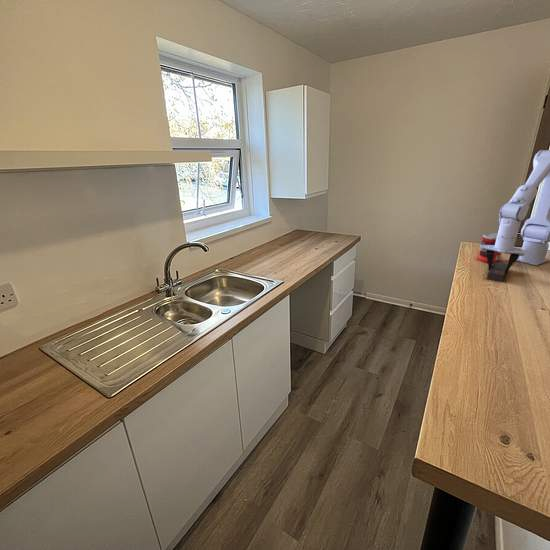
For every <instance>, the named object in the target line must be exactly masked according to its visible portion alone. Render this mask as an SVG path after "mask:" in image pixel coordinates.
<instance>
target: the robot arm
mask: <svg viewBox="0 0 550 550" xmlns="http://www.w3.org/2000/svg"><path fill="white" fill-rule="evenodd" d="M532 168H533V169H532V171H531V173H530V175H529V177H528V178H527V180H526V181H525V184H522V185H520V186H519V187H518V188H517V189H516V190H515V193H514V194H513V195H512V197H511V198H510V199H509V201H508V202H507V203H504V204H503V205H502V206H501V207H500V209H499V212H498V218H499V219H498V223H499V227H498V231H497V233H496V234H497V238H496V243H495V245H482V244H481V243H480V245H479V249H478V251H480V250H481V251H483V250H484V251H486V257H487V260H488V263H487V265H488V269H487V270H488V271H489V270H490V269H491V267H492V265H493V263H492V262H493V258H494V254H495V252H498V253H501V254H507V255H509V258H508V262H507V264H508V265H507V268H506V270H505V274H508V272H509V270H510V268H511V267H512V266H513V265H514V263H515V262H520V263H525V264H529V265H534V266H538V265H541V264H543V263H545V262H547V261H548V259H546V257H547V254H548V250H549V248H550V246H549V245H550V244H549V243H550V149H548V150H546V149H540V150H538V152H537V153H535V155H534V158H533V161H532ZM541 183H543V184H542V187H541V191H540V195H539V198H538V201H537V205H536V209H535V212H534V215H533V217H529V218H528V219H526V220H525V222H524V224H523V226H522V228H521V230H520V226H521V224H522V223H521V222H522V221H523V220H524V219H525V218H526V216H527V214H528V211H529V210H530V205H531V203H532V202H533V200H534V199H535V197H536V196H537V194H538V189H537V188H538V187H539V186H540V185H541ZM519 230H520V236H521V237H522V240H523V243H522V246H521V248H516V247H515V245H516V241H517V237H518V232H519Z"/></svg>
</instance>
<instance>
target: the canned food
mask: <svg viewBox="0 0 550 550" xmlns="http://www.w3.org/2000/svg"><path fill="white" fill-rule="evenodd" d="M497 234H498V233H496V232H495V233H493V232H487V233H484V234H483V235H482V239H481V243H480V245H481V244H482V245H495V243H496V238H497ZM478 251H479V252H478V256H477V259H478V261H480V262H482V263H486V264H488V260H487V257H486V251H484V250H483V251H481V250H478ZM501 256H502V253H498V252H495V254H494V258H493V262H492V264H493V263H494V262H499V261H500V260H501Z"/></svg>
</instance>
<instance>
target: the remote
mask: <svg viewBox="0 0 550 550" xmlns="http://www.w3.org/2000/svg"><path fill="white" fill-rule="evenodd" d="M507 265H508V263H506V262H505V263H503V262H499V261H498V262H494V263H492V267H491V269H490V270H488V272H487V276H486V280H490V281H494V282H500V283H502V282H503V280H504V277H505V275H506V273H505V270H506V268H507Z"/></svg>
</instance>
